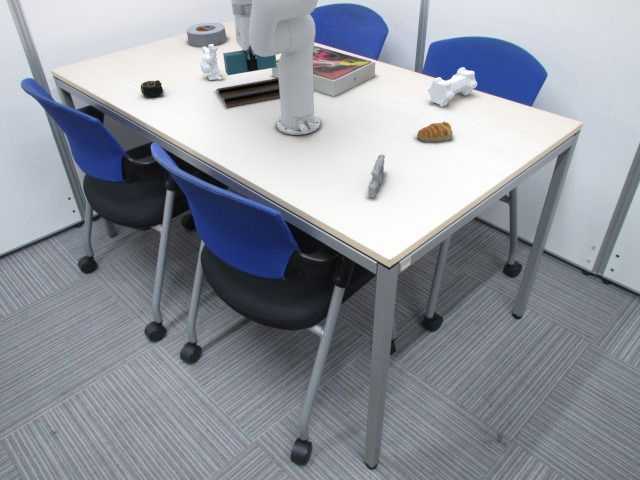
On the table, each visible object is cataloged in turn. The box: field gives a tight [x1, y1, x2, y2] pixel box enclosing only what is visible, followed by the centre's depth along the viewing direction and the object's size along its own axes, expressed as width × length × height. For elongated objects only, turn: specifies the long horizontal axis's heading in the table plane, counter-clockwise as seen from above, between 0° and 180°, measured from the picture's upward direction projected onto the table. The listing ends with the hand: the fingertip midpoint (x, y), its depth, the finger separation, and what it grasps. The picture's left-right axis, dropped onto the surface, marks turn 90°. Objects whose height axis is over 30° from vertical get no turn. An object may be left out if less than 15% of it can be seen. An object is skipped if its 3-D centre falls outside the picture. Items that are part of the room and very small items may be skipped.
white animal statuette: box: [199, 44, 223, 81], centre depth 182 cm, size 8×7×12 cm
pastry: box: [416, 121, 454, 143], centre depth 146 cm, size 9×7×4 cm
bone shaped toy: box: [427, 66, 478, 107], centre depth 164 cm, size 15×9×8 cm, turn 131°
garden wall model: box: [367, 153, 386, 199], centre depth 127 cm, size 12×2×6 cm, turn 163°
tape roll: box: [186, 22, 227, 48], centre depth 216 cm, size 15×15×5 cm
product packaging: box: [271, 44, 376, 97], centre depth 183 cm, size 22×28×5 cm
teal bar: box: [222, 49, 277, 76], centre depth 168 cm, size 16×3×6 cm, turn 112°
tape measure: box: [140, 79, 164, 98], centre depth 175 cm, size 7×7×4 cm
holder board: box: [215, 77, 280, 109], centre depth 174 cm, size 14×22×2 cm, turn 112°
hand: (251, 68), depth 169 cm, fingers closed on teal bar, 3 cm apart
